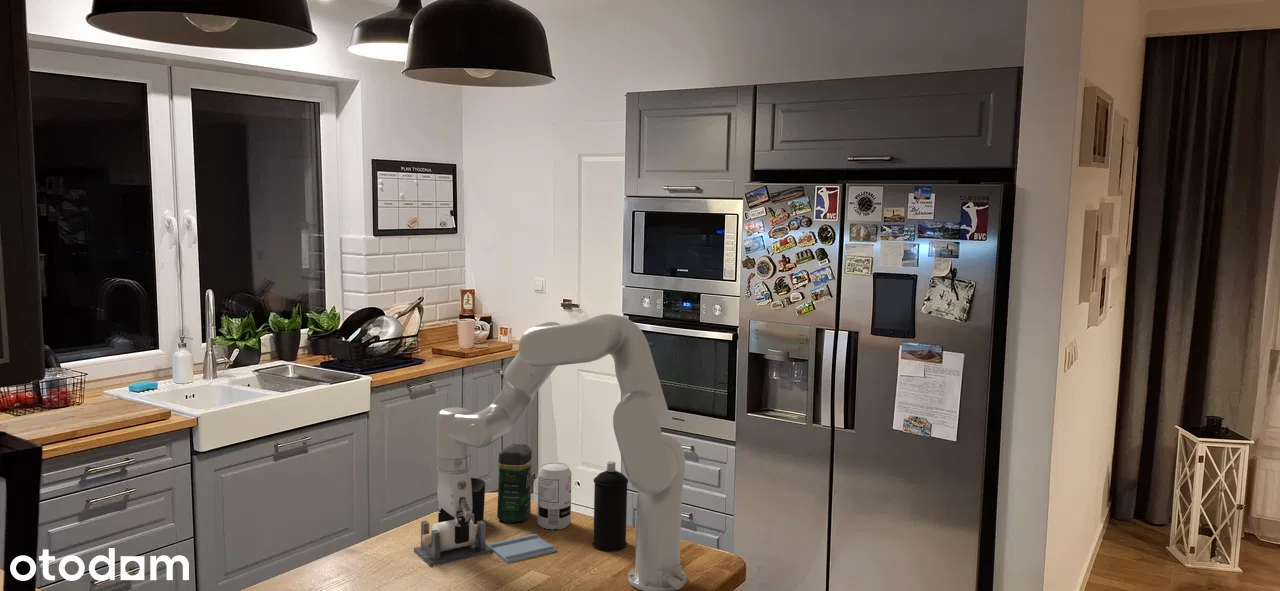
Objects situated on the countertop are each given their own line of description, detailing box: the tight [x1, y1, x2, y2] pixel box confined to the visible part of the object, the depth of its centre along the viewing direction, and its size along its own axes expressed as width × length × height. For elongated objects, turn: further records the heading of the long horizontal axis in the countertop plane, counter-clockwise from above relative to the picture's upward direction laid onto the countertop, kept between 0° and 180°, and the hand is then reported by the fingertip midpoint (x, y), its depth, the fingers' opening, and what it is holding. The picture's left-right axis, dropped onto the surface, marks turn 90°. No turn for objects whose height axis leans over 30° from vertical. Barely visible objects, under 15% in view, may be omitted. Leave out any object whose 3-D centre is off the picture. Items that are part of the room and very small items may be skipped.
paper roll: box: [422, 518, 477, 552], centre depth 197 cm, size 14×6×6 cm, turn 125°
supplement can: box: [537, 462, 572, 531], centre depth 215 cm, size 8×8×15 cm
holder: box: [413, 513, 494, 567], centre depth 197 cm, size 15×10×7 cm, turn 125°
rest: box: [487, 533, 557, 564], centre depth 200 cm, size 13×10×1 cm
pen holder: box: [452, 477, 486, 525], centre depth 216 cm, size 9×9×10 cm
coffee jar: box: [496, 443, 533, 523], centre depth 220 cm, size 10×8×19 cm
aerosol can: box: [592, 461, 629, 552], centre depth 203 cm, size 8×8×20 cm
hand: (453, 535), depth 197 cm, fingers open, 9 cm apart
